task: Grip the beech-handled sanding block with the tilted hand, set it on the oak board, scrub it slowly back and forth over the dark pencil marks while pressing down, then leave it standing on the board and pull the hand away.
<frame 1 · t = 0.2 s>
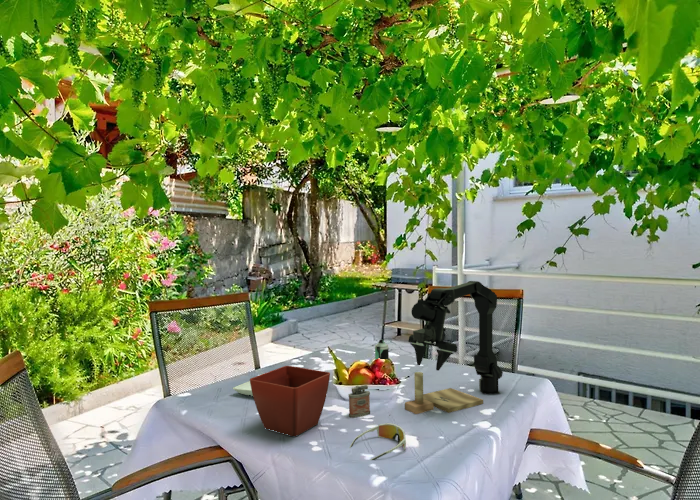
hand: (427, 367, 169), 15 cm above the table, tool tilted 15°, fingers open, 9 cm apart
plant pot: (291, 427, 157), on the table
lighter: (359, 415, 167), on the table
board: (449, 401, 179), on the table
square plate: (280, 392, 195), on the table
sunglasses: (379, 448, 140), on the table
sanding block: (419, 409, 171), on the table
spray can: (382, 388, 196), on the table
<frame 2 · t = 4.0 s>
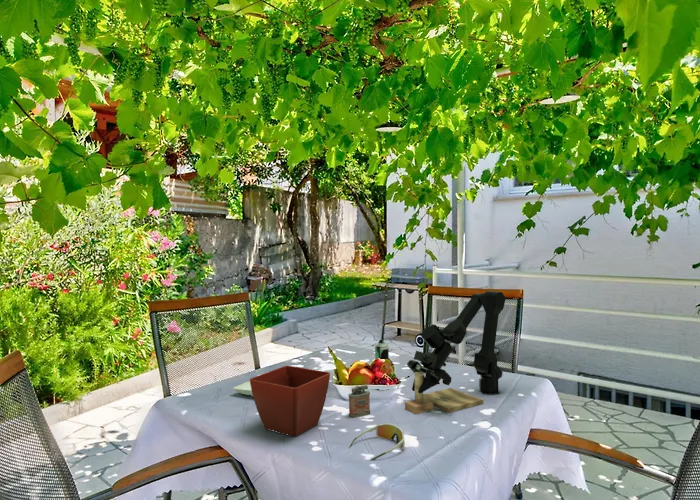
hand: (415, 391, 170), 7 cm above the table, tool tilted 45°, fingers closed on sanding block, 3 cm apart
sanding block: (419, 409, 171), on the table, touching gripper
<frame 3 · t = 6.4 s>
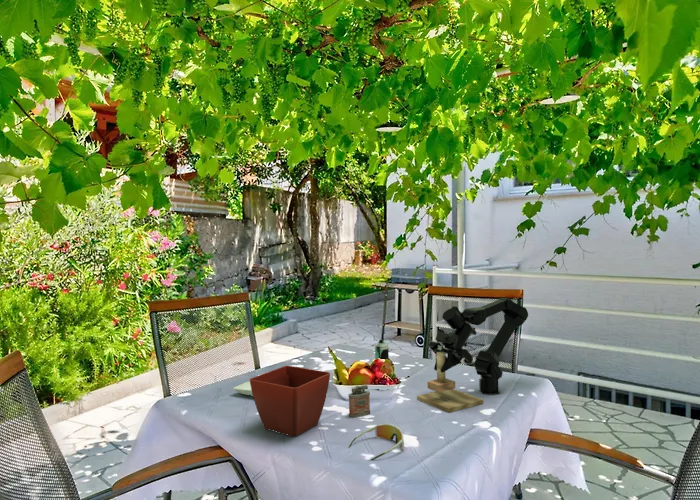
hand: (438, 370, 176), 12 cm above the table, tool tilted 45°, fingers closed on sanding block, 3 cm apart
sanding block: (441, 388, 177), point 6 cm above the table, touching gripper
everything else where it was.
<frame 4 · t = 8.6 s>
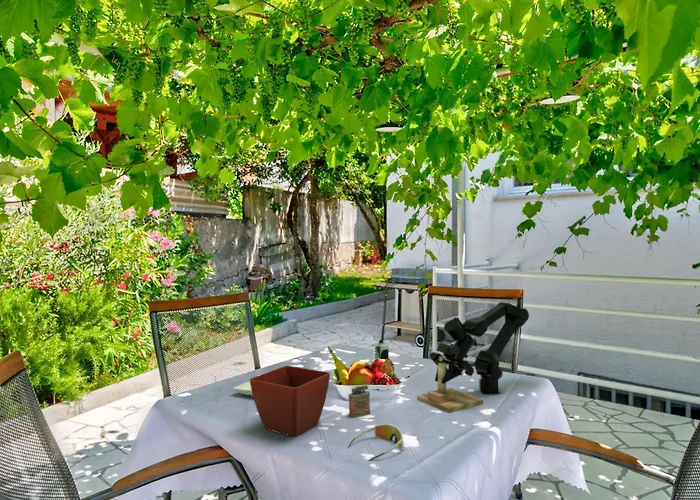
hand: (439, 382, 176), 8 cm above the table, tool tilted 45°, fingers closed on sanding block, 3 cm apart
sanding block: (441, 399, 177), point 2 cm above the table, touching board, gripper
everything else where it was.
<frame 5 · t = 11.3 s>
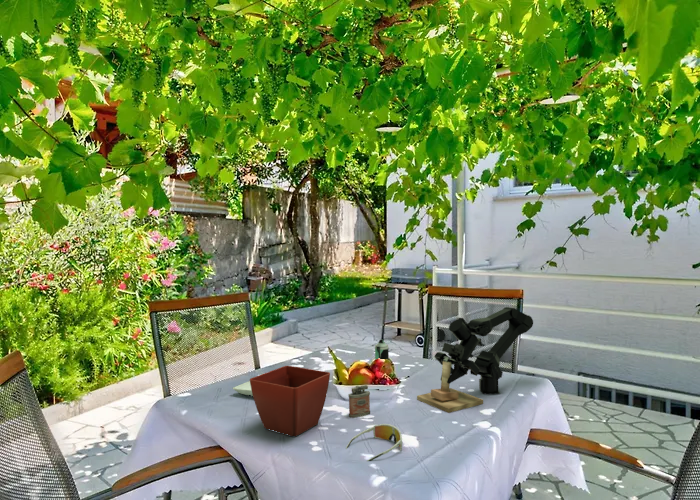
hand: (444, 382, 177), 8 cm above the table, tool tilted 45°, fingers closed on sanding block, 3 cm apart
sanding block: (444, 397, 177), point 2 cm above the table, tilted 6°, touching gripper
when the fingers open (8 cm above the table, at t = 13.5 s): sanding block stays where it is, resting on board.
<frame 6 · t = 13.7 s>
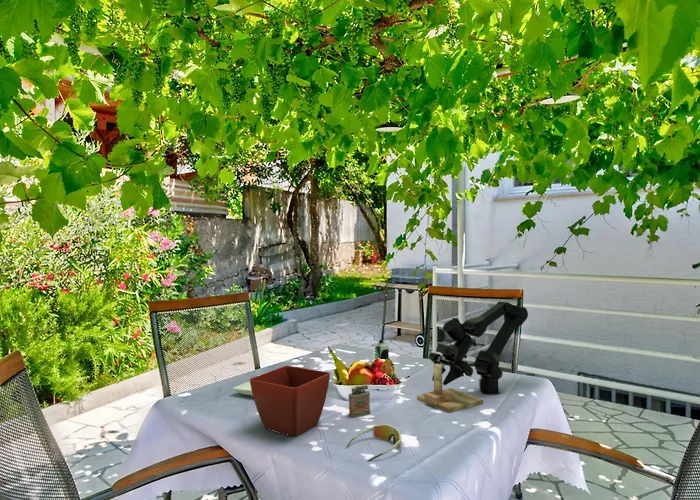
hand: (438, 382, 176), 8 cm above the table, tool tilted 45°, fingers open, 5 cm apart
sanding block: (438, 400, 176), point 2 cm above the table, touching board
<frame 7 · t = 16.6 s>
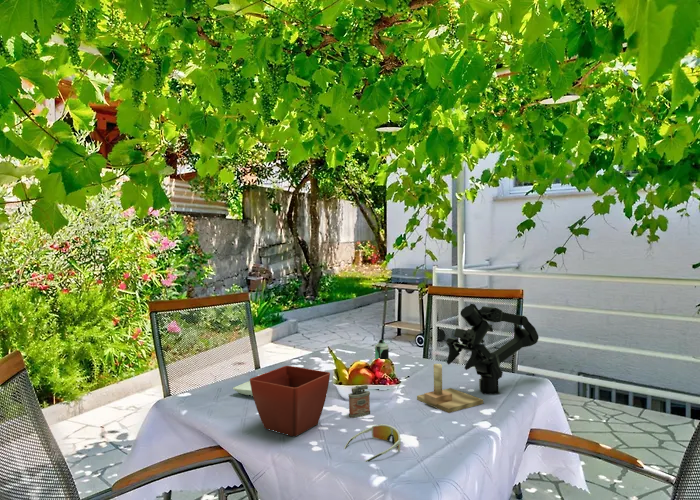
hand: (456, 366, 180), 13 cm above the table, tool tilted 45°, fingers open, 9 cm apart
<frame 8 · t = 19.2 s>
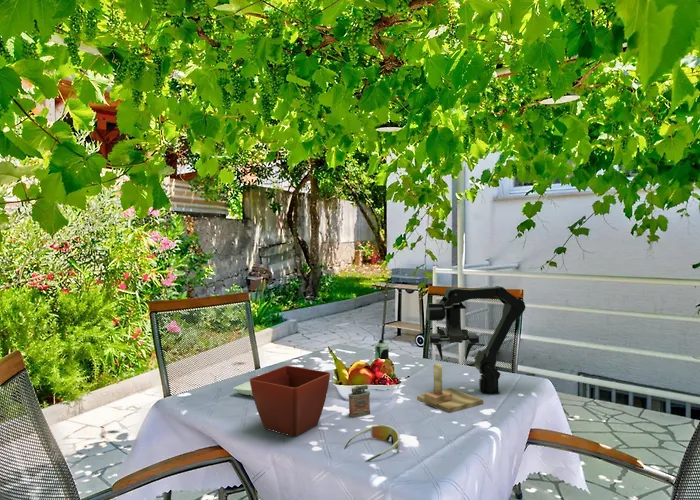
hand: (453, 360, 188), 13 cm above the table, tool pointing down, fingers open, 9 cm apart
at the end: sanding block inside the target area (3.3 cm from its centre), point 1.5 cm above the table; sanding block tilted 0°; the gripper is holding nothing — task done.
